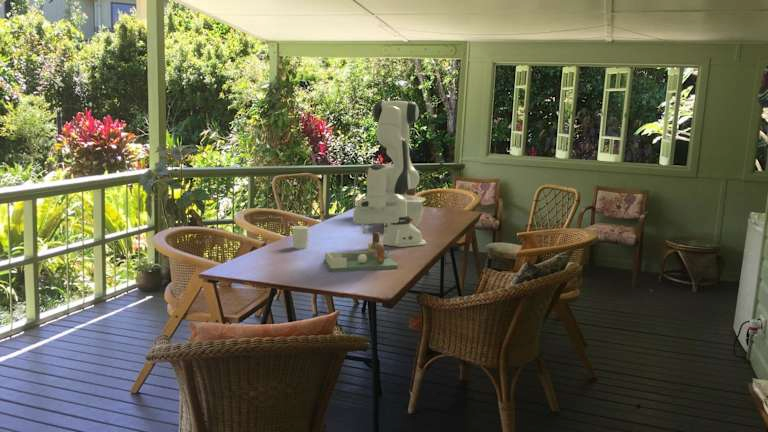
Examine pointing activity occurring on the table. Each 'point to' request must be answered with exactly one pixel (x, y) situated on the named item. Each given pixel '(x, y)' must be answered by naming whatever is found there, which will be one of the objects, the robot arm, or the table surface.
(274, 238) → the table surface
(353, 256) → the rail
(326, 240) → the table surface
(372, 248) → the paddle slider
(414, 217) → the chamber pot
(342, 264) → the pitch
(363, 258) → the ball
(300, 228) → the white cup
